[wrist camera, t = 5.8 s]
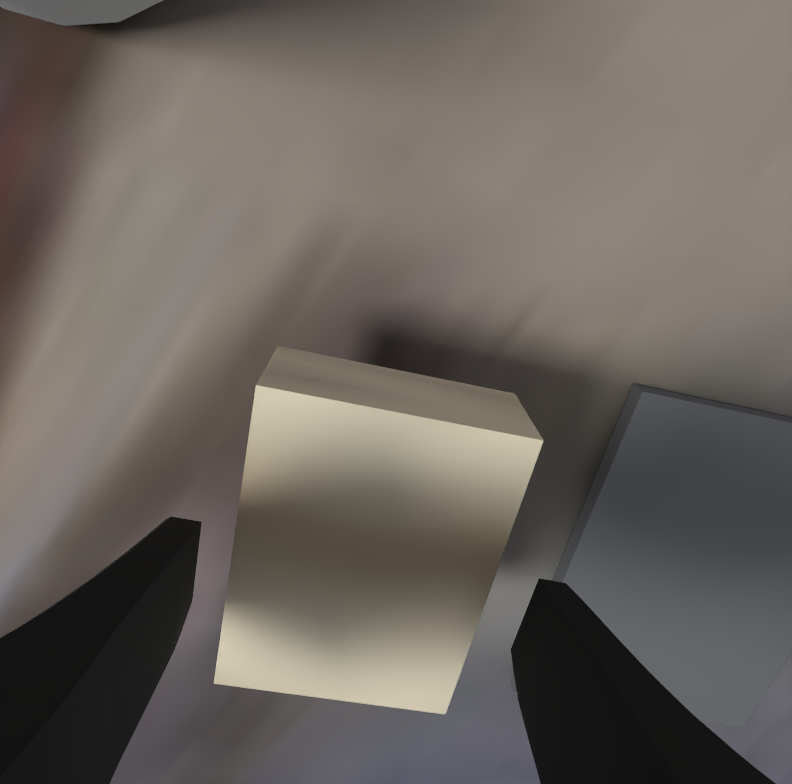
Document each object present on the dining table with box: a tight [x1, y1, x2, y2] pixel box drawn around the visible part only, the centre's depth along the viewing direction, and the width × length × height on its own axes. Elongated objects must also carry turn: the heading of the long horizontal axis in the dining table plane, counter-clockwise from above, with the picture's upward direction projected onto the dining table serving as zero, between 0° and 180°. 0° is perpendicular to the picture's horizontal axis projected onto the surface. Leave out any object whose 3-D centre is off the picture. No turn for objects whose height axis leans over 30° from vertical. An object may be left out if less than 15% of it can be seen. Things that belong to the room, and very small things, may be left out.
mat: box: [511, 384, 792, 728], centre depth 19 cm, size 12×9×1 cm
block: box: [214, 346, 544, 714], centre depth 13 cm, size 8×6×2 cm
